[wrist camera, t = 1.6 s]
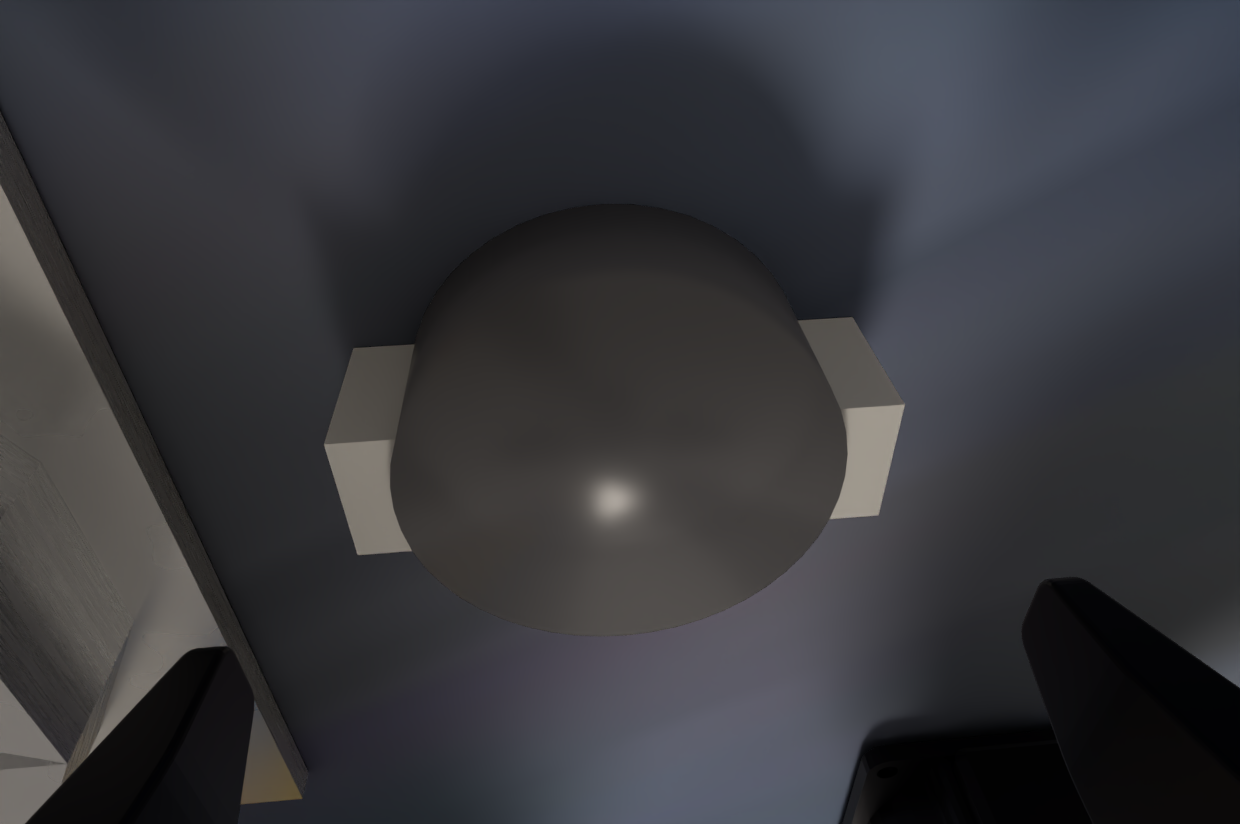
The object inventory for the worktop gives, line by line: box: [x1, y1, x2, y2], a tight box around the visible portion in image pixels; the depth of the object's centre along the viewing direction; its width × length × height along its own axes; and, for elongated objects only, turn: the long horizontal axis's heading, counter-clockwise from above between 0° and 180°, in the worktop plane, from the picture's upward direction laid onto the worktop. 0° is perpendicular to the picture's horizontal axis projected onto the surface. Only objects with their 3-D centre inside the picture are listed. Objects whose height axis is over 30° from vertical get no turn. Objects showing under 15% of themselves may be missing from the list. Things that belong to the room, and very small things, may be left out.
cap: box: [324, 204, 905, 636], centre depth 12 cm, size 6×7×3 cm
